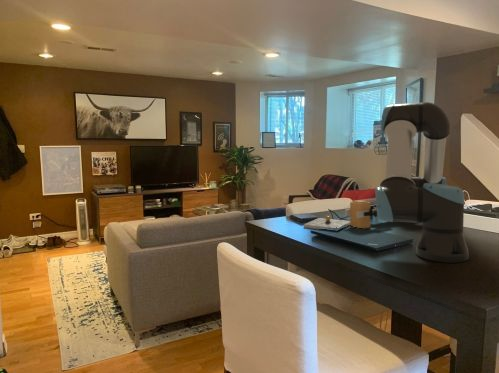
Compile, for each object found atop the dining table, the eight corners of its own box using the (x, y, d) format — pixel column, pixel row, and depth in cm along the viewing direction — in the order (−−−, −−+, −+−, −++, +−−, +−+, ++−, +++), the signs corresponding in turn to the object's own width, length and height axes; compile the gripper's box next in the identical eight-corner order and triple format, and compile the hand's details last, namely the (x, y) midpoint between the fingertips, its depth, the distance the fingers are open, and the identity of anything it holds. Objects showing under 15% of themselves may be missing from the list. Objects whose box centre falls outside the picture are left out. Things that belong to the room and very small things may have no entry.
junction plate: (338, 231, 154) (338, 221, 154) (303, 227, 164) (303, 217, 163) (351, 224, 167) (351, 214, 167) (319, 220, 176) (319, 211, 176)
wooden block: (370, 227, 161) (370, 201, 159) (360, 229, 158) (360, 202, 156) (359, 224, 166) (359, 199, 165) (350, 226, 163) (350, 201, 162)
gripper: (405, 219, 162) (368, 226, 151) (372, 212, 178) (336, 218, 167) (405, 202, 161) (368, 208, 150) (372, 197, 178) (336, 202, 166)
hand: (351, 213), depth 159 cm, fingers closed on wooden block, 6 cm apart
